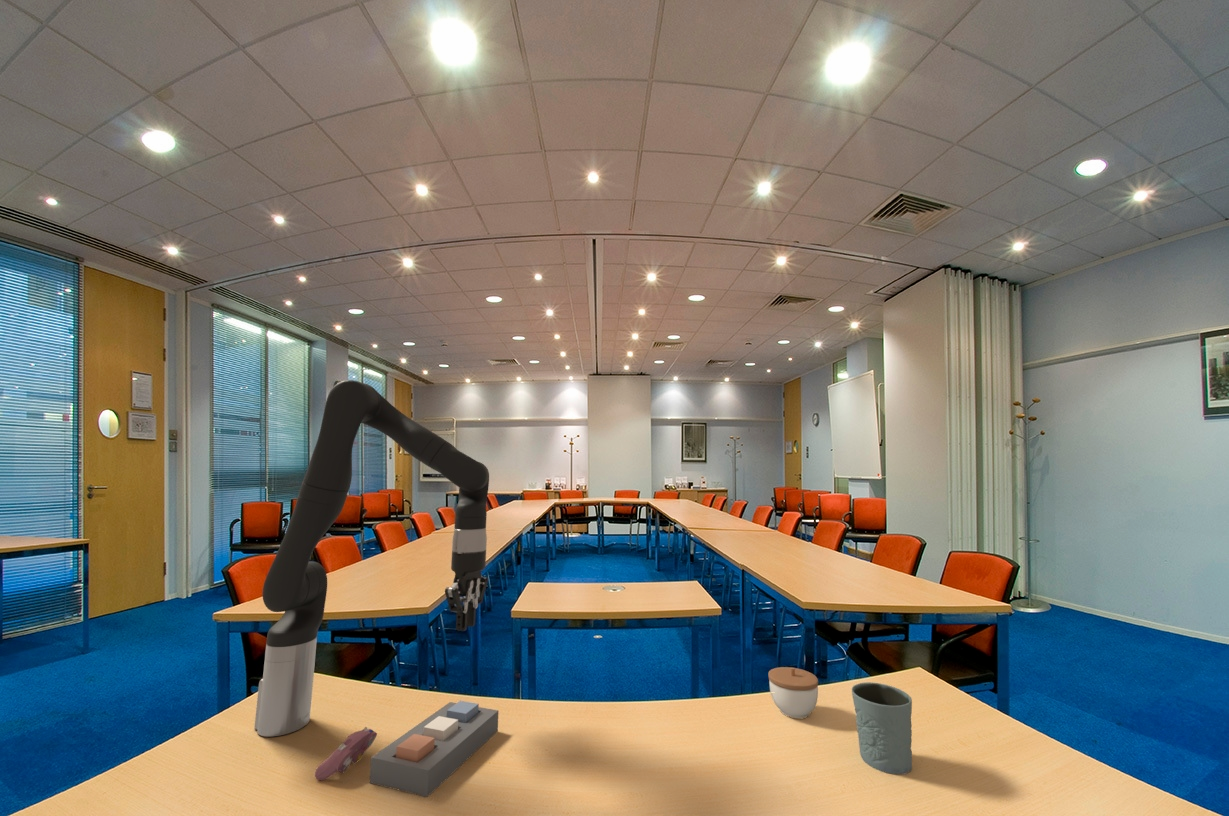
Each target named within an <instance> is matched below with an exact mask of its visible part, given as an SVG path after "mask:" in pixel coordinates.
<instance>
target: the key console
mask: <svg viewBox="0 0 1229 816" xmlns="http://www.w3.org/2000/svg"><path fill="white" fill-rule="evenodd" d="M456 703H457V702H452V701H449V702H448V703H447V704H445V705H444V706H442V707H441V708H440V709H438V710H437V711H435V712H434V713H432V714H431V715H429V716H428V717H426V718H425V719H424V720H422V721H421V722H419V723H418V724H417V725H415V726H413V727H412V728H411V729H410V730H408V731H407V732H405V733H404V734H401V736H399V737H398V738H397V739H394V741H392V742H390V744H388V745H387V746H386V747H384V748H383V749H381V750H379V751H378V752H377V753H375V754H374V755H373V756H371V757H370V770H369V783H370V784H374V785H378V786H381V787H385V788H389V787H391V788H390V789H393V788H394V790H397V789H399V790H398V791H401V792H406V793H409V794H414V795H418V796H422V797H424V798H428V797H429V796H430V795H431V794H432V793H433V792H434V791H435V790H436V789H438V787H439V786H440V785H442V784H443V783H444V782H445V781H446V780H447V779H449V777H451V775H452V774H453V773H455V772H456V770H458V769H459V768H460V767H461V766H462V765H463V764H464V763H465V762H466V761H467V760H468V759H470V758H471V757H472V755H474V754H475V753H476V752H477V751H478V750H479V749H480V748H481V747H482V746H484V744H486V742H488V741H489V740H490V739H491V738H492V737H493V736H495V734H496V733H498V731H499V709H492V708H486V707H481V706H479V707H478V714H477V715H476V716H475V717H473V718H472V719H471V720H470V721H469V722H467V723H461V722H458V730H457V731H456V732H455V733H454V734H452V735H451V736H450V737H449V738H448V739H446V740H445V741H444V742H443V741H438V740H435V743H434V750H433V751H431V752H430V753H429V754H428V755H427V756H425V757H424V758H423V759H422V760H420V761H419V762H418V763H417V762H412V761H408V760H403V759H399V758H396V748H397V746H398V745H399V744H401V743H402V742H404V741H405V740H406V739H408V738H409V737H411V736H412V735H413V734H418V735H423V728H424V726H426V725H427V724H429V723H430V722H431V721H433V720H434V719H436V718H437V717H438V716H441V717H447V710H448V709H449V708H451V707H452V706H454V705H455V704H456Z"/></svg>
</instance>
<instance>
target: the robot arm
mask: <svg viewBox="0 0 1229 816" xmlns="http://www.w3.org/2000/svg"><path fill="white" fill-rule="evenodd" d="M361 424H364V425H366V426H368V427H370V428H373V429H375V430H377V431H379V432H381V433H383V435H385V436H386V437H389V438H390V439H391V440H393V441H394V443H397V445H398V446H399V447H400V448H402V449H403V450H404V451H405V452H406V453H408V454H409V455H410V456H411V457H413V458H415V459H416V460H417V461H419V462H420V463H421V464H423V465H425V466H427V467H428V468H430V469H431V470H434V471H436V472H438V473H439V474H441V475H442V476H443V477H444V478H446V480H448V481H450V482H451V483H452V484H453V485H455V486H457V487H458V503H457V505H456V507H455V511H454V512H455V513H454V530H453V535H452V545H451V546H452V548H451V560H450V561H451V565H450V569H451V571H452V572H453V573H454V574H455V575H454V578H453V583H452V584H451V586H450V587H448V586H447V587H445V589H444V594H445V597H446V601H447V605H448V608H449V611H450V612H451V613H452V612H453V613H456V620H455V623H456V624H455V629H456V631H459V632H465V631H467V627H470V628H472V627H474V626H475V625H476V614H477V611H476V610H477V608H478V607H479V604H480V605H481V604H482V603H483V600H484V598H485V597H484V596H485V592H486V589H487V585H488V582H489V578H488V577H486V576H482V572H481V571H483V570H485V569H486V566H487V565H486V561H487V539H488V536H487V513H488V512H487V503H488V502H487V501H488V494H489V487H490V486H489V485H490V472H489V469H488V467H487V466H486V465H485V464H484V463H483V462H480V461H478V460H476V459H474V458H472V457H471V456H468V455H467V454H466V453H464V452H462V451H460V450H458V448H456V446H454V445H453V444H452V443H450V442H449V441H447V440H445V439H444V438H442V437H441V436H440V435H438V434H436V433H435V432H434V431H432V430H430V429H428V428H427V427H425V426H423V425H422V424H419V423H418V422H416V420H413V419H411V418H410V417H409V416H407V415H405V414H404V413H403V412H401V411H400V410H399V409H397V408H396V407H395V406H394V405H392V404H391V403H390V402H389V401H388V400H387V399H386V398H385V397H384V396H383V395H382V394H380V393H379V392H378V390H376V389H375V388H374V387H373V386H372V385H370V384H367V383H366V382H365V383H364V382H362V381H357V380H354V379H345V380H342V381H340V382H338V383H337V384H335V385H334V386H333V387H332V388H331V390H330V391H329V392H328V395H327V397H326V402H325V406H324V411H323V414H322V420H321V425H320V430H319V434H318V437H317V440H316V443H315V447H314V449H313V451H312V454H311V457H310V460H309V463H308V467H307V469H306V472H305V474H304V476H303V477H304V478H303V479H302V483H301V485H300V488H299V491H298V494H297V499H296V503H295V505H294V509H293V512H292V514H291V517H290V519H289V522H288V525H287V527H286V531H285V534H284V536H283V539H282V542H281V544H280V546H279V548H278V550H277V552H276V555H275V557H274V559H273V561H272V564H271V566H270V567H269V570H268V572H267V574H266V577H265V579H264V583H263V585H262V601H263V603H264V605H265V607H266V608H267V610H269V611H271V612H273V613H281V612H284V613H283V615H282V616H281V617H280V619H279V620H278V621H277V622H275V624H273V625H272V626H271V627H270V628H269V630H268V632H267V635H266V636H267V637H266V642H265V643H266V644H265V652H264V664H263V674H262V678H261V679H260V680H259V682H258V689H257V697H256V699H257V701H256V708H255V709H256V711H255V718H254V719H255V720H254V730H256V731H257V734H258V735H259V736H261V737H279V736H284V735H288V734H291V733H293V732H296V731H298V730H300V729H302V728H303V727H305V726H307V724H308V723H309V722H310V720H311V719H310V718H311V709H312V708H311V707H312V699H313V698H312V697H313V687H314V675H315V674H314V673H315V663H316V651H317V640H318V632H319V628H320V626H321V625H322V622H323V619H324V613H325V606H326V601H327V600H326V598H327V591H328V575H327V572H326V570H325V568H324V567H323V565H322V564H320V563H319V562H317V561H314V560H312V561H311V557H312V556H313V555H312V554H313V552H314V550H315V549H316V546H317V545H318V544H319V542H320V540H321V539H322V538H323V536H324V535H325V534H326V533H327V532H328V530H329V529H330V528H331V526H332V525H333V524H334V523H335V522H336V520H337V519H338V517H339V516H340V515H341V512H342V511H343V508H344V506H345V503H346V501H347V498H348V494H349V491H350V489H351V485H352V477H353V448H354V443H355V439H356V437H357V435H358V431H359V429H360V428H361V427H360V426H361Z"/></svg>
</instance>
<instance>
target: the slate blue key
mask: <svg viewBox="0 0 1229 816" xmlns="http://www.w3.org/2000/svg"><path fill="white" fill-rule="evenodd" d="M455 703H456V704H455V705H454V706H452V707H451V708H449V709H448V710H447V718H452V719H458V722H461V723H467V722H469V721H470V720H471V719H472V718H473V717H475V716H476V715H477V714H478V707H480V706H479V704H480V703H476V702H471V701H464V700H459V701H458V702H455Z"/></svg>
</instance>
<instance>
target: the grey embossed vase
mask: <svg viewBox="0 0 1229 816" xmlns="http://www.w3.org/2000/svg"><path fill="white" fill-rule="evenodd" d="M851 695H852V699H853V700H852V701H853V706H854V711H855V714H856V715H855V721H856V722H855V723H856V732H857V736H858V737H857V738H858V745H859V754H860V758H861V759H862V761H863V762H864V763H865V764H867V765H868V766H869V767H871V768H872V769H875V770H876V771H880V772H882V773H886V774H891V775H905V774H906V775H907V774H908V773H910V772H911V771H912V769H913V752H912V741H913V739H912V735H913V731H912V730H913V729H912V725H913V724H912V711H913V710H912V709H913V699H912V697H911V696H910V694H908V693H907V692H906V691H904V690H902V689H901V688H897V687H895V686H892V685H888V684H885V683H878V682H871V681H870V682H868V681H867V682H860V683H856V684H854V685H853V686H852V687H851Z"/></svg>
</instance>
